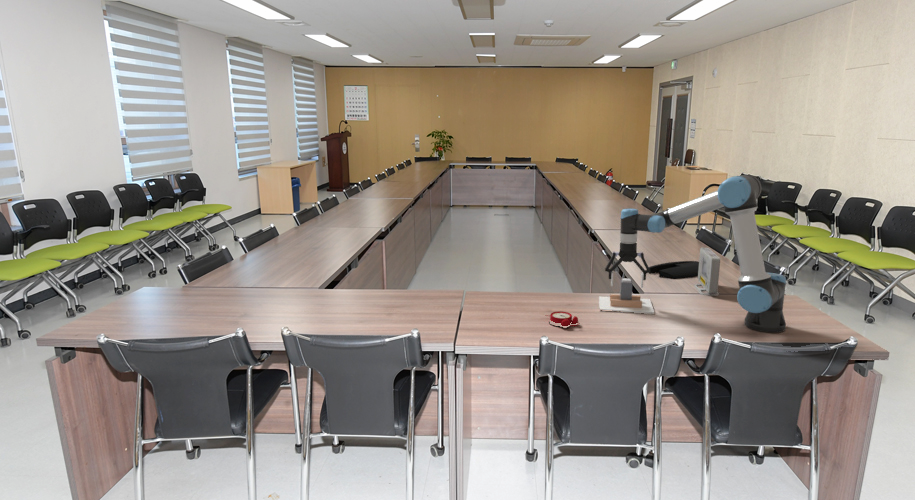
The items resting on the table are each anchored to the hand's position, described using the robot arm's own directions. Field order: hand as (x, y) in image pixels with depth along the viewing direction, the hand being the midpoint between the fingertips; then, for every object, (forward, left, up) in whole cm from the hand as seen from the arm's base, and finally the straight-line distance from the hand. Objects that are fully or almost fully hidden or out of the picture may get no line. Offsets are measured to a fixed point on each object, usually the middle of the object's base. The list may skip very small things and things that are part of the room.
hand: (626, 286), depth 255 cm
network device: (+34, -42, -10) cm, 55 cm away
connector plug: (0, 0, -9) cm, 9 cm away
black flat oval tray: (+71, -35, -10) cm, 80 cm away
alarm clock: (-30, +28, -10) cm, 42 cm away
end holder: (0, 0, -10) cm, 10 cm away
